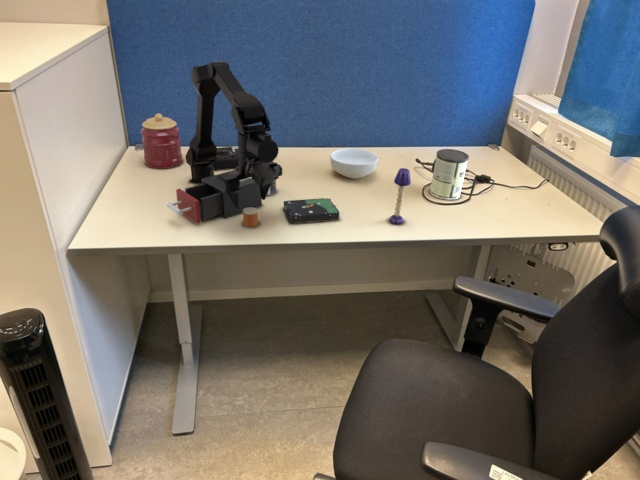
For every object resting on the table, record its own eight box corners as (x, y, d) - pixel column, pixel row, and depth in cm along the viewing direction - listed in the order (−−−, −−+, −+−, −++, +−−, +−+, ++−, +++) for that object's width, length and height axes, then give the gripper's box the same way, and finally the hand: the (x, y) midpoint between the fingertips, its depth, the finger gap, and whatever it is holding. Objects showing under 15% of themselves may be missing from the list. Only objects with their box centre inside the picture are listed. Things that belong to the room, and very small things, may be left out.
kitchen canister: (167, 153, 177) (161, 106, 168) (190, 162, 171) (186, 113, 162) (137, 162, 168) (130, 113, 159) (160, 172, 161) (154, 121, 152)
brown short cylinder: (240, 225, 132) (240, 212, 130) (246, 219, 136) (246, 206, 133) (254, 228, 131) (254, 215, 129) (260, 222, 135) (260, 208, 133)
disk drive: (290, 225, 134) (339, 220, 138) (290, 216, 133) (340, 211, 137) (282, 208, 143) (329, 204, 147) (283, 200, 142) (329, 196, 145)
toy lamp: (406, 225, 138) (415, 172, 130) (392, 226, 137) (400, 173, 129) (399, 217, 142) (407, 165, 134) (385, 218, 141) (393, 166, 133)
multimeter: (206, 158, 175) (205, 145, 173) (255, 153, 182) (255, 141, 180) (213, 171, 165) (212, 157, 162) (266, 165, 172) (266, 152, 169)
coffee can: (433, 185, 165) (440, 146, 158) (462, 191, 162) (471, 152, 155) (426, 195, 157) (433, 155, 150) (456, 202, 154) (466, 162, 147)
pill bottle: (272, 196, 150) (273, 163, 144) (255, 194, 151) (254, 160, 145) (278, 189, 155) (278, 156, 149) (260, 186, 156) (260, 154, 150)
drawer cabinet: (224, 218, 135) (223, 191, 131) (203, 204, 142) (201, 178, 138) (261, 205, 144) (261, 180, 140) (239, 193, 151) (238, 168, 146)
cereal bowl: (365, 164, 179) (367, 146, 175) (383, 181, 166) (386, 162, 162) (323, 167, 174) (324, 149, 170) (338, 185, 160) (340, 165, 157)
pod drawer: (183, 228, 127) (181, 206, 124) (164, 214, 133) (161, 193, 130) (234, 211, 138) (233, 190, 134) (214, 199, 144) (213, 179, 140)
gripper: (238, 167, 112) (239, 224, 120) (296, 151, 123) (294, 204, 131) (211, 153, 118) (215, 209, 126) (269, 140, 130) (269, 191, 138)
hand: (250, 203), depth 130 cm, fingers open, 9 cm apart
